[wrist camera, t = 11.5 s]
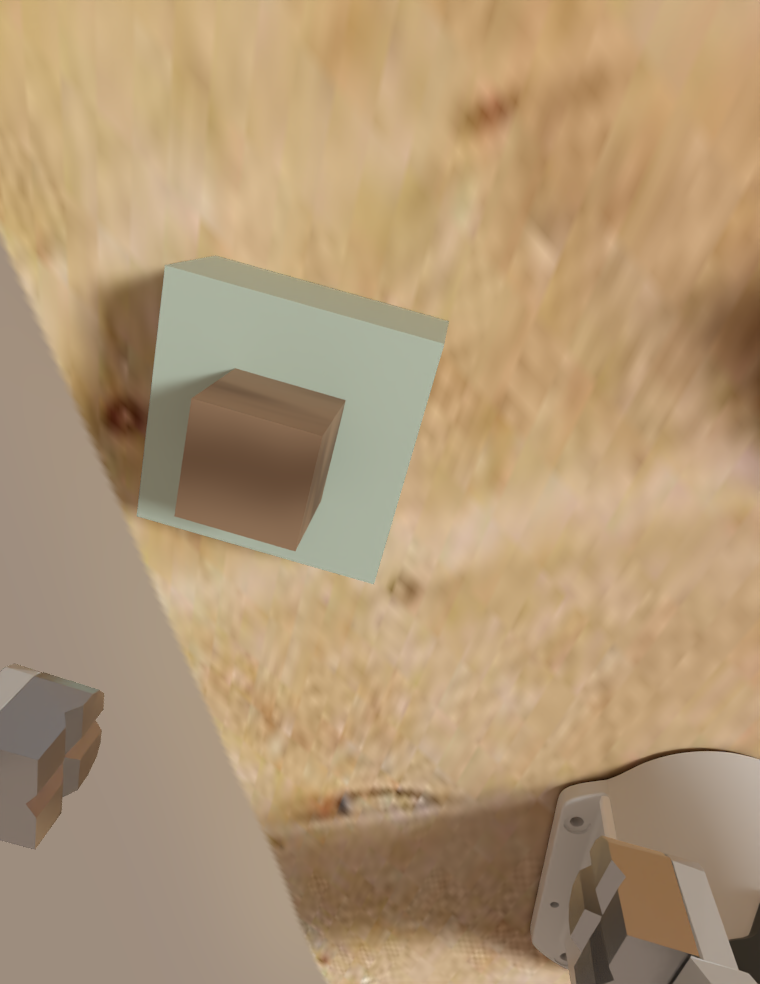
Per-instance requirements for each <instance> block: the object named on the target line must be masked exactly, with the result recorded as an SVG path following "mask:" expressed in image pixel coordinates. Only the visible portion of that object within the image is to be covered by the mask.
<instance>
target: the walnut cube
mask: <svg viewBox="0 0 760 984" xmlns="http://www.w3.org/2000/svg"><path fill="white" fill-rule="evenodd" d="M345 401H346V400H344V399H340V398H337V397H333V396H330V395H326V394H323V393H319V392H316V391H312V390H309V389H305V388H302V387H299V386H295V385H292V384H288V383H285V382H281V381H278V380H274V379H271V378H267V377H264V376H260V375H257V374H253V373H250V372H247V371H243V370H240V369H236V368H235V369H233V370H232V371H230V372H229V373H228V374H226V375H225V376H223V377H222V378H220V379H219V380H217V381H216V382H214V383H213V384H211V385H210V386H209V387H207V388H206V389H204V390H203V391H201V392H200V393H198V394H197V395H195V396H194V397H193V398H191V405H190V411H189V418H188V425H187V432H186V439H185V446H184V453H183V460H182V467H181V474H180V481H179V487H178V494H177V501H176V508H175V515H174V516H175V517H178V518H182V519H185V520H189V521H192V522H196V523H199V524H202V525H206V526H209V527H213V528H216V529H220V530H223V531H226V532H230V533H233V534H237V535H240V536H244V537H247V538H250V539H254V540H257V541H261V542H264V543H268V544H271V545H274V546H278V547H281V548H285V549H288V550H292V551H296V549H297V547H298V545H299V543H300V541H301V539H302V537H303V535H304V534H305V532H306V530H307V528H308V526H309V524H310V522H311V520H312V518H313V516H314V514H315V512H316V510H317V508H318V506H319V504H320V502H321V499H322V495H323V491H324V487H325V483H326V479H327V475H328V471H329V467H330V463H331V459H332V454H333V450H334V446H335V442H336V438H337V434H338V430H339V426H340V422H341V418H342V414H343V410H344V405H345Z"/></svg>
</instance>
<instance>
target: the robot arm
mask: <svg viewBox="0 0 760 984" xmlns="http://www.w3.org/2000/svg"><path fill="white" fill-rule="evenodd" d="M103 707H104V693H103V692H101V691H100V690H98V689H95V688H91V687H88V686H85V685H82V684H79V683H76V682H73V681H69V680H66V679H63V678H60V677H57V676H54V675H50V674H48V673H44V672H43V673H42V672H39V671H36V670H33V669H30V668H27V667H24V666H21V665H18V664H12V665H9V666H7V667H5V668H3V669H2V670H1V671H0V840H2V841H5V842H9V843H12V844H16V845H20V846H23V847H27V848H31V849H36V847H37V846H38V845H39V844H40V842H41V841H42V839H43V838H44V837H45V835H46V834H47V832H48V831H49V829H50V828H51V827H52V825H53V824H54V823H55V821H56V820H57V818H58V817H59V816H60V814H61V810H62V797H64V796H66V795H68V794H70V793H72V792H74V791H76V790H78V789H79V787H80V786H81V784H82V783H83V781H84V780H85V779H86V777H87V776H88V774H89V772H90V770H91V767H92V765H93V763H94V761H95V759H96V757H97V754H98V750H99V746H100V742H101V732H102V731H101V729H100V727H99V725H98V724H97V722H96V721H95V720H96V718H97V717H98V716H99V715H100V713H101V712H102V711H103ZM530 934H531V939H532V943H533V945H534V946H535V947H536V948H537V949H538V950H539V951H540V952H541V953H542V954H543V955H545V956H546V957H547V958H549V959H550V960H552V961H553V962H555V963H556V964H558V965H560V966H562V967H564V968H566V969H568V970H569V975H570V981H571V984H760V760H759V759H756V758H753V757H749V756H745V755H740V754H735V753H728V752H718V751H697V752H686V753H679V754H673V755H668V756H664V757H660V758H657V759H654V760H651V761H648V762H645V763H643V764H641V765H638V766H636V767H634V768H632V769H630V770H628V771H626V772H624V773H622V774H620V775H618V776H616V777H613V778H610V779H607V780H600V781H593V782H586V783H581V784H576V785H572V786H570V787H567V788H565V789H564V790H563V791H562V792H561V793H560V795H559V797H558V801H557V806H556V810H555V815H554V820H553V824H552V829H551V833H550V838H549V842H548V847H547V852H546V856H545V861H544V865H543V870H542V874H541V879H540V884H539V888H538V893H537V897H536V902H535V906H534V911H533V916H532V920H531V925H530Z"/></svg>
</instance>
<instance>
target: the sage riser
mask: <svg viewBox="0 0 760 984" xmlns="http://www.w3.org/2000/svg"><path fill="white" fill-rule="evenodd" d="M448 322H449V321H446V320H443V319H439V318H435V317H432V316H428V315H425V314H421V313H418V312H414V311H411V310H407V309H403V308H400V307H396V306H393V305H389V304H386V303H382V302H379V301H375V300H371V299H368V298H364V297H361V296H357V295H354V294H350V293H347V292H343V291H340V290H336V289H332V288H329V287H325V286H322V285H318V284H315V283H311V282H308V281H304V280H300V279H297V278H293V277H290V276H286V275H283V274H279V273H276V272H272V271H268V270H265V269H261V268H258V267H254V266H251V265H247V264H244V263H240V262H236V261H233V260H229V259H226V258H222V257H219V256H211V257H206V258H200V259H195V260H190V261H185V262H179V263H174V264H169V265H165V270H164V279H163V288H162V297H161V306H160V314H159V323H158V332H157V341H156V350H155V359H154V368H153V376H152V385H151V394H150V403H149V412H148V421H147V429H146V438H145V447H144V456H143V465H142V474H141V483H140V491H139V500H138V509H137V516H138V517H141V518H145V519H148V520H152V521H155V522H159V523H162V524H166V525H169V526H173V527H176V528H180V529H183V530H187V531H190V532H194V533H197V534H200V535H204V536H207V537H211V538H214V539H218V540H221V541H225V542H228V543H232V544H235V545H239V546H242V547H246V548H249V549H253V550H256V551H260V552H263V553H267V554H270V555H274V556H277V557H281V558H284V559H287V560H291V561H294V562H298V563H301V564H305V565H308V566H312V567H315V568H319V569H322V570H326V571H329V572H333V573H336V574H340V575H343V576H347V577H350V578H354V579H357V580H361V581H364V582H368V583H371V584H374V582H375V579H376V575H377V572H378V568H379V565H380V562H381V558H382V555H383V551H384V548H385V544H386V541H387V538H388V534H389V531H390V527H391V524H392V521H393V517H394V514H395V510H396V507H397V504H398V500H399V497H400V493H401V490H402V486H403V483H404V480H405V476H406V473H407V469H408V466H409V463H410V459H411V456H412V452H413V449H414V446H415V442H416V439H417V435H418V432H419V428H420V425H421V422H422V418H423V415H424V411H425V408H426V405H427V401H428V398H429V394H430V391H431V388H432V384H433V381H434V377H435V374H436V370H437V367H438V364H439V360H440V357H441V353H442V350H443V347H444V343H445V338H446V333H447V327H448ZM235 368H236V369H240V370H243V371H247V372H250V373H253V374H257V375H260V376H264V377H267V378H271V379H274V380H278V381H281V382H285V383H288V384H292V385H295V386H299V387H302V388H305V389H309V390H312V391H316V392H319V393H323V394H326V395H330V396H333V397H337V398H340V399H344V400H346V401H345V405H344V410H343V414H342V418H341V422H340V426H339V430H338V434H337V438H336V442H335V446H334V450H333V454H332V459H331V463H330V467H329V471H328V475H327V479H326V483H325V487H324V491H323V495H322V499H321V502H320V504H319V506H318V508H317V510H316V512H315V514H314V516H313V518H312V520H311V522H310V524H309V526H308V528H307V530H306V532H305V534H304V535H303V537H302V539H301V541H300V543H299V545H298V547H297V549H296V551H292V550H288V549H285V548H281V547H278V546H274V545H271V544H268V543H264V542H261V541H257V540H254V539H250V538H247V537H244V536H240V535H237V534H233V533H230V532H226V531H223V530H220V529H216V528H213V527H209V526H206V525H202V524H199V523H196V522H192V521H189V520H185V519H182V518H178V517H175V516H174V515H175V508H176V501H177V494H178V487H179V481H180V474H181V467H182V460H183V453H184V446H185V439H186V432H187V425H188V418H189V411H190V405H191V398H193V397H194V396H195V395H197V394H198V393H200V392H201V391H203V390H204V389H206V388H207V387H209V386H210V385H211V384H213V383H214V382H216V381H217V380H219V379H220V378H222V377H223V376H225V375H226V374H228V373H229V372H230V371H232V370H233V369H235Z"/></svg>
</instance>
